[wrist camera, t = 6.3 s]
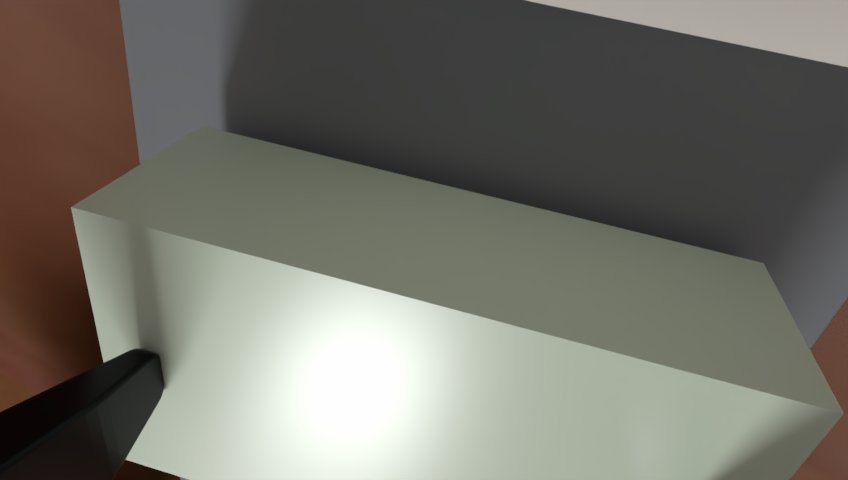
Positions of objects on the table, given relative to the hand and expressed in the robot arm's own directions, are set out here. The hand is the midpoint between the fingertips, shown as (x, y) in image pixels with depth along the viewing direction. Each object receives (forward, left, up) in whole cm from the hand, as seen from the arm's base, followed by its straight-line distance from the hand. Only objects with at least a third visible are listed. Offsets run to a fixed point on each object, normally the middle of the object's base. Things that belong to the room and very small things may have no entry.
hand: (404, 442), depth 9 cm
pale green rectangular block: (0, 0, -4) cm, 4 cm away
